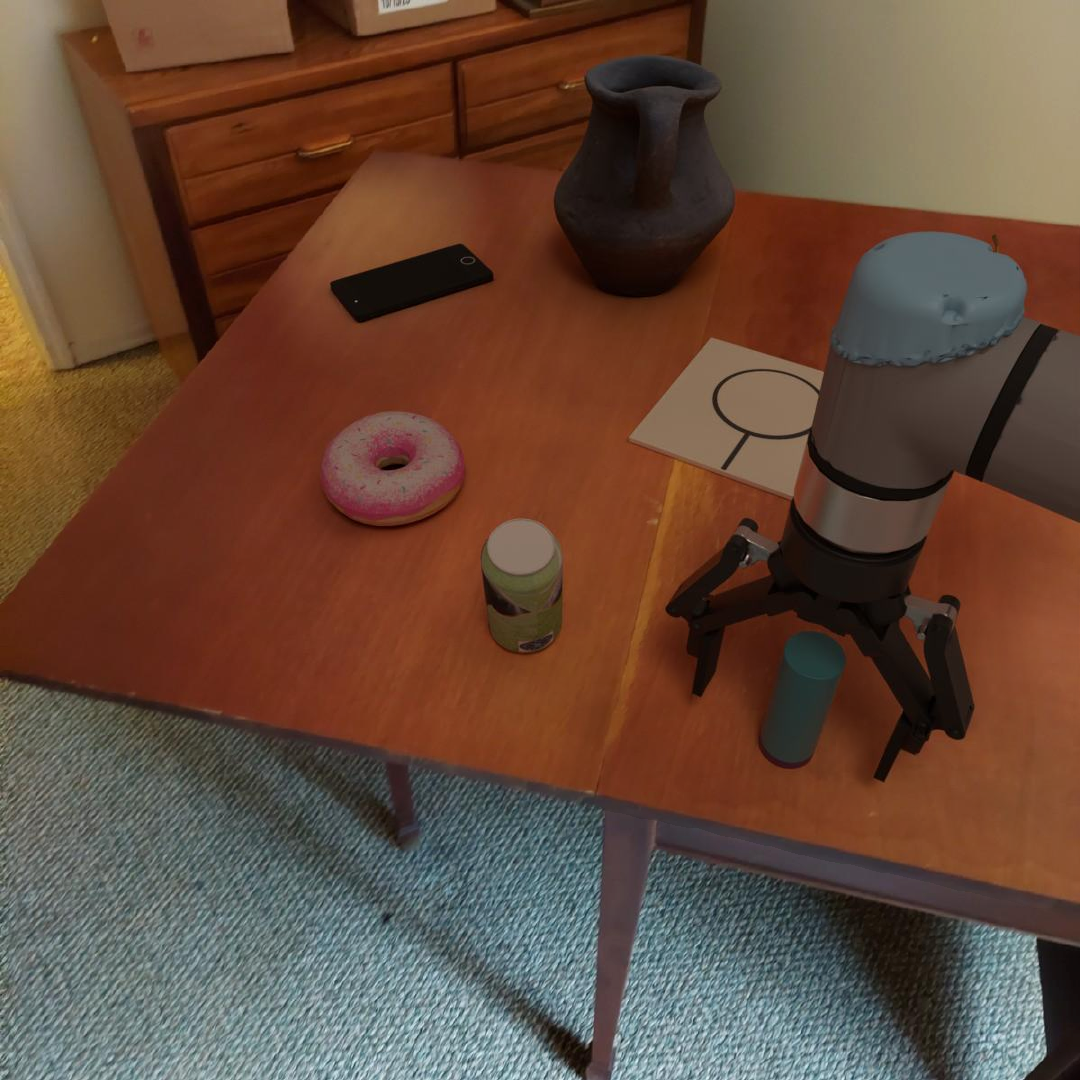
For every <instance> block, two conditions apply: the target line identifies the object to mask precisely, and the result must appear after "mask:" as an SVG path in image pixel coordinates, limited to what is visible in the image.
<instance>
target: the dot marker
mask: <svg viewBox="0 0 1080 1080" xmlns="http://www.w3.org/2000/svg"><path fill="white" fill-rule="evenodd" d="M846 656H847V655H846V653H845V650H844V648H843V647H842V645H841V644H840V643H839V642H838V641H837V640H836V639H835V638H833V636H830V635H828V634H827V633H823V632H821V631H815V630H803V631H798V632H796V633H794V634H792V635H791V636H790V637H788V639H787V640H786V641H785V643H784V646H783V649H782V653H781V657H780V659H779V664H778V667H777V668H778V669H777V671H776V675H775V678H774V683H773V685H772V688H771V693H770V697H769V700H768V704H767V708H766V711H765V714H764V719H763V722H762V726H761V730H760V733H759V737H758V746H759V749H760V751H761V753H762V755H763V756H764V757H765V759H766V760H768V761H769V762H770V763H771V764H773V765H775V766H776V767H779V768H782V769H788V770H789V769H790V770H793V769H799V768H802V767H805V766H806V765H807V764H808V763H810V761H812V759H813V757H814V753H815V751H816V748H817V746H818V743H819V741H820V737H821V734H822V732H823V728H824V726H825V723H826V720H827V717H828V715H829V711H830V710H831V706H832V704H833V701H834V698H835V695H836V692H837V689H838V687H839V685H840V681H841V678H842V675H843V673H844V670H845V668H846V664H847V657H846Z"/></svg>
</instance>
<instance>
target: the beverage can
mask: <svg viewBox="0 0 1080 1080" xmlns="http://www.w3.org/2000/svg"><path fill="white" fill-rule="evenodd" d="M562 549H563V548H562V547H561V544H560V542H559V540H558V539H557V537H556V536H555V535H554V534H553V533H552V532H551V531H550V530H549V528H547V527H546V526H545V525H544V524H542V523H541V522H539V521H537V520H534V519H529V518H514V519H509V520H507V521H504V522H503V523H501V524H499V525H498V526H497V527H496V528H494V529H493V531H492V532H491V533H490V535H489V536H488V537H487V539H486V540H485V542H484V544H483V546H482V549H481V551H480V567H481V576H482V584H483V592H484V600H485V609H486V617H487V626H488V630H489V632H490V635H491V637H492V638H493V639H494V641H495V642H496V644H499V645H500V646H501V647H502V648H504V649H506V650H508V651H510V652H513V653H519V654H529V653H530V654H531V653H536V652H539V651H541V650H543V649H546V648H547V647H548V646H550V645H551V644H552V643H553V642H554V641H555V640H556V639H557V638H558V636H559V634H560V632H561V629H562V626H563V579H564V578H563V577H564V576H563V572H564V571H563V570H564V569H563V567H564V564H563V562H564V561H563V559H564V557H563V550H562Z"/></svg>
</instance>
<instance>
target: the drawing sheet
mask: <svg viewBox="0 0 1080 1080" xmlns="http://www.w3.org/2000/svg"><path fill="white" fill-rule="evenodd" d="M823 374H824V371H823V370H819V369H816V368H813V367H809V366H807V365H803V364H801V363H800V364H799V363H797V362H793V361H790V360H787V359H783V358H780V357H777V356H774V355H770V354H767V353H764V352H761V351H757V350H754V349H751V348H748V347H745V346H741V345H739V344H734V343H731V342H728V341H725V340H721V339H718V338H715V337H712V336H711V337H710V338H709V339H708V340H707V342H706V343H705V344H704V346H703V347H702V348H701V349H700V350H699V351H698V353H696V355H695V356H694V357H693V359H692V360H691V361H690V362H689V364H687V366H686V367H685V368H684V370H683V371H682V372H681V373H680V375H678V377H677V378H676V379H675V380H674V382H673V383H672V384H671V385H670V387H668V389H666V391H665V393H664V394H663V395H662V396H661V397H660V398H659V400H658V401H657V402H656V404H654V406H653V407H652V408H651V409H650V411H649V412H648V413H647V415H645V417H644V418H643V419H642V420H641V422H640V423H639V424H638V425H637V426H636V428H635V429H634V430H633V431H632V432H631V433H630V435H629V436H628V442H629V443H632V444H634V445H637V446H640V447H643V448H646V449H647V450H651V451H653V452H656V453H659V454H661V455H665V456H667V457H669V458H670V457H671V458H673V459H676V460H679V461H681V462H684V463H686V464H690V465H692V466H695V467H698V468H701V469H703V470H706V471H708V472H711V473H714V474H717V475H719V476H722V477H726V478H727V479H731V480H733V481H736V482H739V483H742V484H745V485H747V486H750V487H752V488H755V489H757V490H761V491H764V492H765V493H766V492H767V493H769V494H772V495H775V496H778V497H781V498H782V499H786V500H789V501H792V498H793V496H794V487H795V484H796V480H797V476H798V472H799V468H800V464H801V461H802V457H803V453H804V449H805V445H806V441H807V438H808V434H809V431H810V429H811V426H812V422H813V418H814V414H815V409H816V405H817V401H818V396H819V392H820V387H821V383H822V379H823Z"/></svg>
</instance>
